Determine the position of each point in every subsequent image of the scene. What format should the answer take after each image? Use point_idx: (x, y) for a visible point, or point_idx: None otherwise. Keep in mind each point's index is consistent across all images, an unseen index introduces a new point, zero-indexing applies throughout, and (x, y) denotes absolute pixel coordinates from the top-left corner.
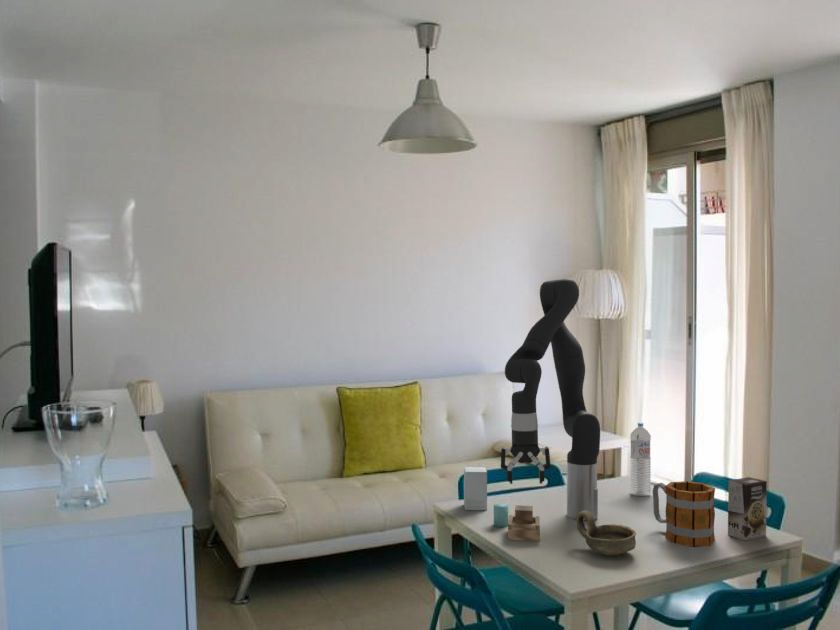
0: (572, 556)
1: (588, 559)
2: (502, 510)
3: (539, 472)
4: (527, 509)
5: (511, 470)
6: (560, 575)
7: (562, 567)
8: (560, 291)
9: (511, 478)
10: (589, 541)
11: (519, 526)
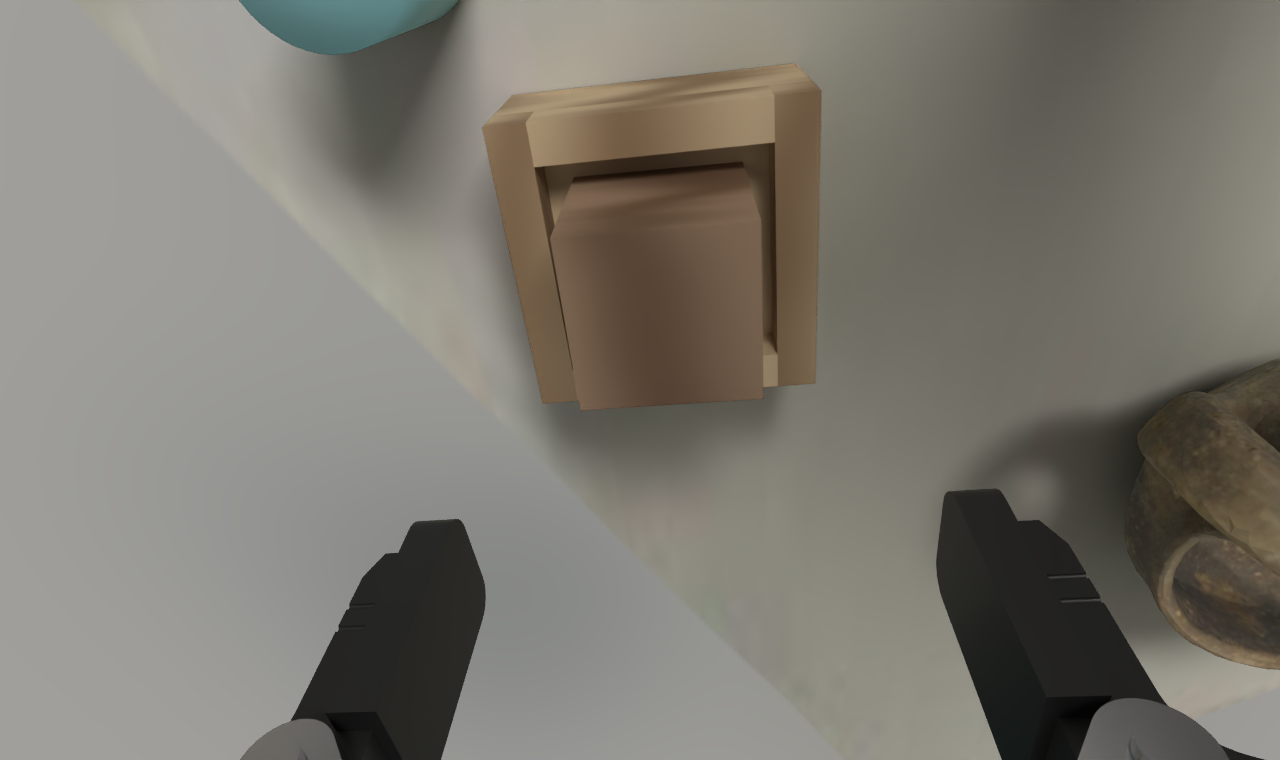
0: None
1: None
2: (377, 42)
3: (1010, 723)
4: (706, 366)
5: (389, 758)
6: (879, 720)
7: (901, 655)
8: None
9: (452, 676)
10: (1145, 581)
11: None
